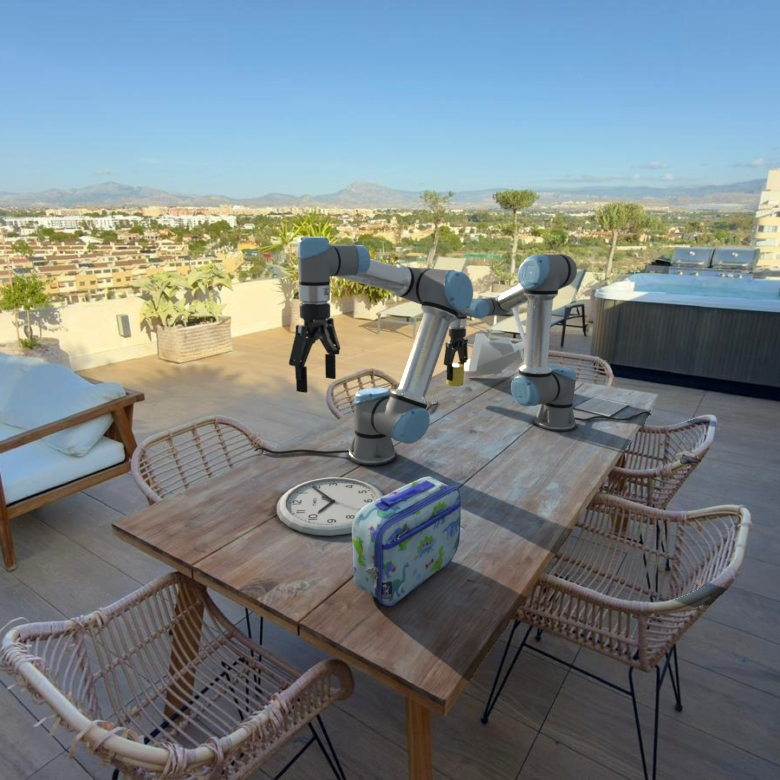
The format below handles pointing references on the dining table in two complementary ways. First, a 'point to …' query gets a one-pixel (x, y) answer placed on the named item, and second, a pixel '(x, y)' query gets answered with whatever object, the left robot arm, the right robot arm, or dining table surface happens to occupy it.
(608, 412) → the grey flat slab
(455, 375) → the canister
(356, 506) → the wall clock
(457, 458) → the dining table surface
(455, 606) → the dining table surface
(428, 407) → the fork
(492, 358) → the white plastic object
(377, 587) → the lunch box
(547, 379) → the right robot arm
